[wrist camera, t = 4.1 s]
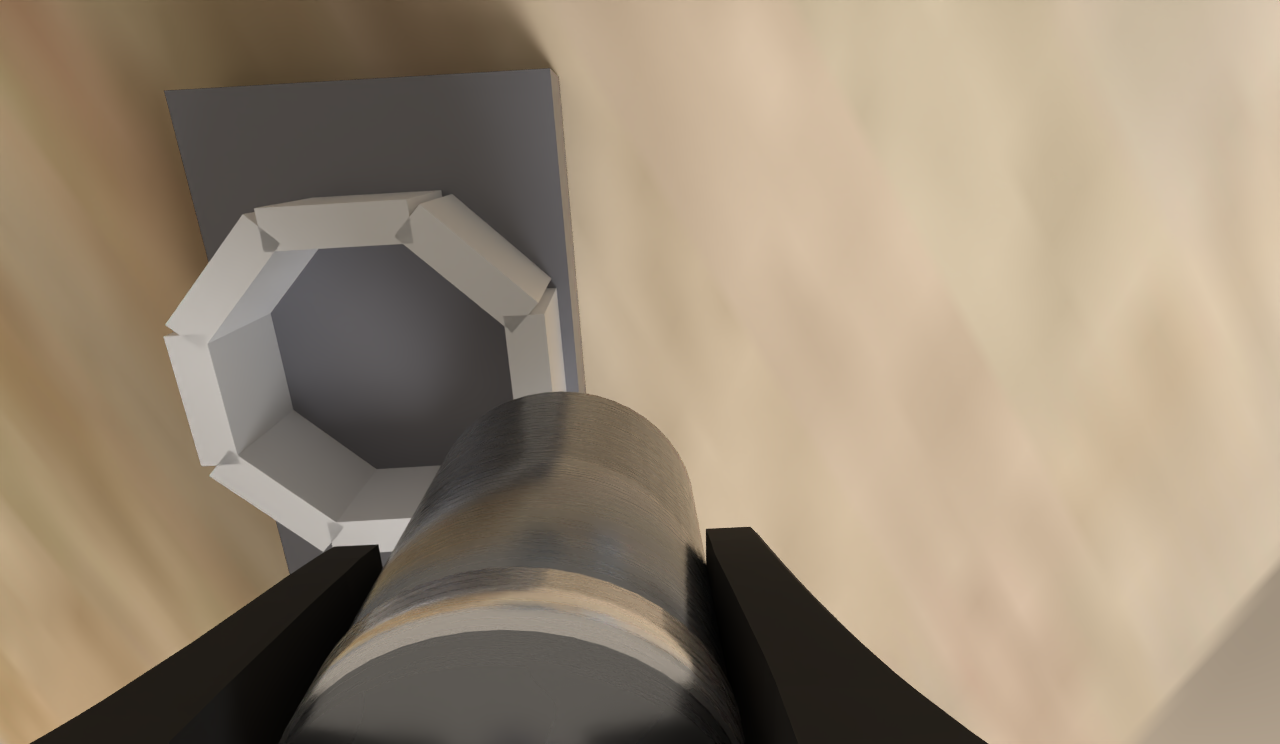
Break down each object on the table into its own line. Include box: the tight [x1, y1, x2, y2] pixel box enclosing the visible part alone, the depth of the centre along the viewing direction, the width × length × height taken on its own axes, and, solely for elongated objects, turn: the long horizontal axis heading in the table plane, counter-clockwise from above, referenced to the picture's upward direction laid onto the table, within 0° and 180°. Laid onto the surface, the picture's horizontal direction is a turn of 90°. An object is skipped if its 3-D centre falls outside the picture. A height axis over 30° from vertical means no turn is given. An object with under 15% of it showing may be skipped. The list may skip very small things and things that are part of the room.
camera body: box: [163, 68, 586, 574], centre depth 16 cm, size 12×8×4 cm, turn 3°
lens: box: [279, 391, 745, 744], centre depth 9 cm, size 4×4×6 cm
